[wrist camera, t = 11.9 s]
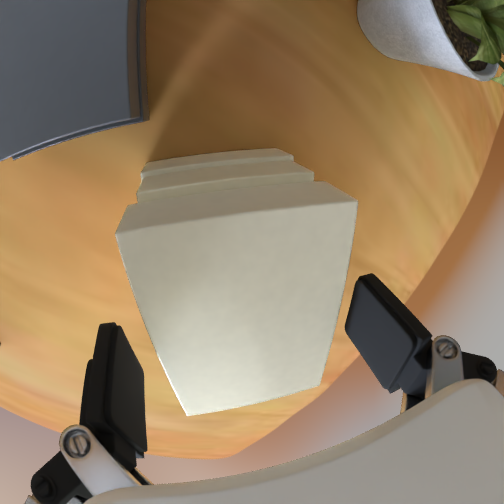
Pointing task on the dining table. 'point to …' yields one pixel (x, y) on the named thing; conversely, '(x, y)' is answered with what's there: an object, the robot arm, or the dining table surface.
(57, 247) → the dining table surface
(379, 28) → the house plant
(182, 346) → the cream book
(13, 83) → the grey book stack
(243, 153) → the cream book stack
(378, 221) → the dining table surface
